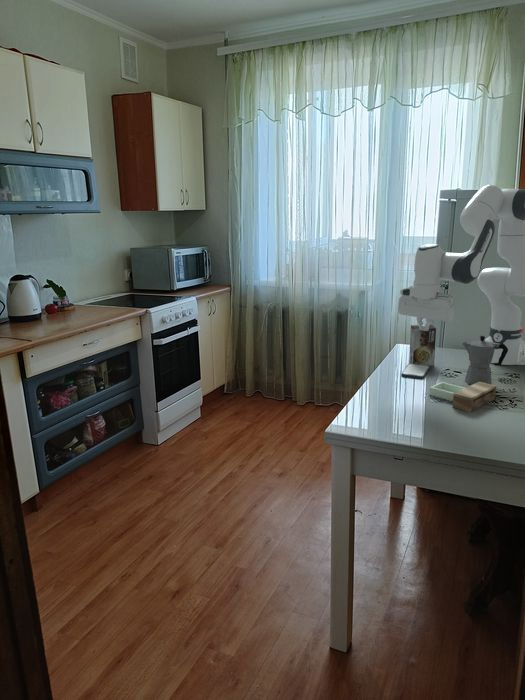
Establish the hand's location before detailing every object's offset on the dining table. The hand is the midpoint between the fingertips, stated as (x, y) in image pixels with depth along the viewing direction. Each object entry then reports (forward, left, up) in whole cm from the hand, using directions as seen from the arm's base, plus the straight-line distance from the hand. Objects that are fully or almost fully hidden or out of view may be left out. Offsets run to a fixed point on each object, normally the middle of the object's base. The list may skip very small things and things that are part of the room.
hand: (423, 330), depth 181 cm
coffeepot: (-19, +14, -21) cm, 32 cm away
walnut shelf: (+2, +21, -21) cm, 30 cm away
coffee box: (-25, -16, -21) cm, 37 cm away
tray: (+2, +15, -21) cm, 26 cm away
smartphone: (-14, -11, -22) cm, 28 cm away
